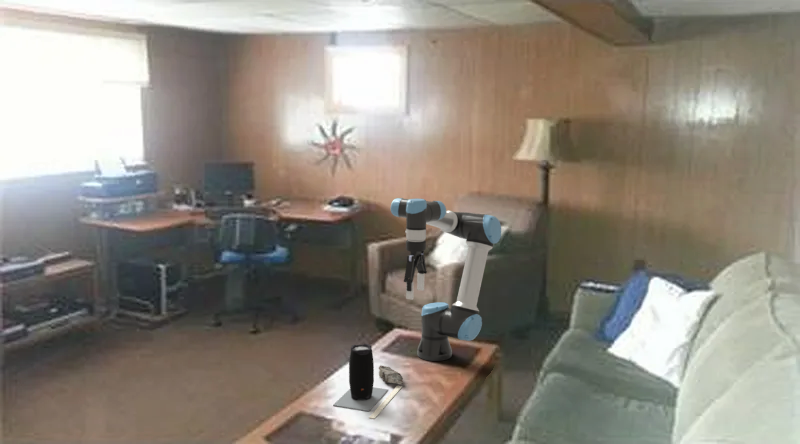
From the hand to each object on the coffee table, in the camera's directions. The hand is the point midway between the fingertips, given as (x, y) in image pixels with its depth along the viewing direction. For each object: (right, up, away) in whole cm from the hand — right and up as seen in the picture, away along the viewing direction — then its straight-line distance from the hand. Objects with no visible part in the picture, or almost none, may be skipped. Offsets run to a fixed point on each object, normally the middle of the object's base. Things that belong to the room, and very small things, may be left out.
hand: (415, 294), depth 268 cm
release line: (-11, -39, -9) cm, 41 cm away
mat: (-20, -38, -6) cm, 44 cm away
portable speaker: (-20, -38, -6) cm, 43 cm away
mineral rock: (-9, -35, +10) cm, 38 cm away
